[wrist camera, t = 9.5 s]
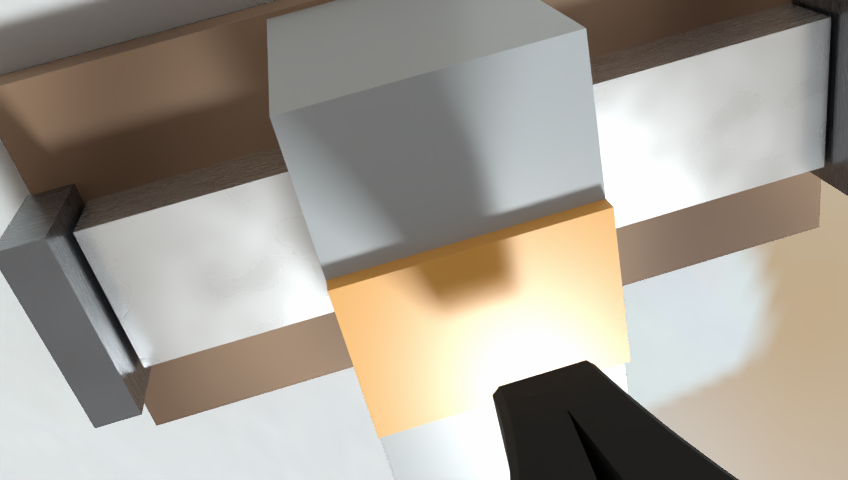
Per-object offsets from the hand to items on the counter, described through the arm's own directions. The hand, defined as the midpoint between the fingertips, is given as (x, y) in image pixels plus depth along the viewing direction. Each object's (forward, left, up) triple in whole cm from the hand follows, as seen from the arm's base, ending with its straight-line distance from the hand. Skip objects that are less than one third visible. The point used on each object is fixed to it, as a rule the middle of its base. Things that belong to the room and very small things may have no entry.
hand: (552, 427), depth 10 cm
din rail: (-1, 0, -9) cm, 9 cm away
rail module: (0, 0, -8) cm, 8 cm away
